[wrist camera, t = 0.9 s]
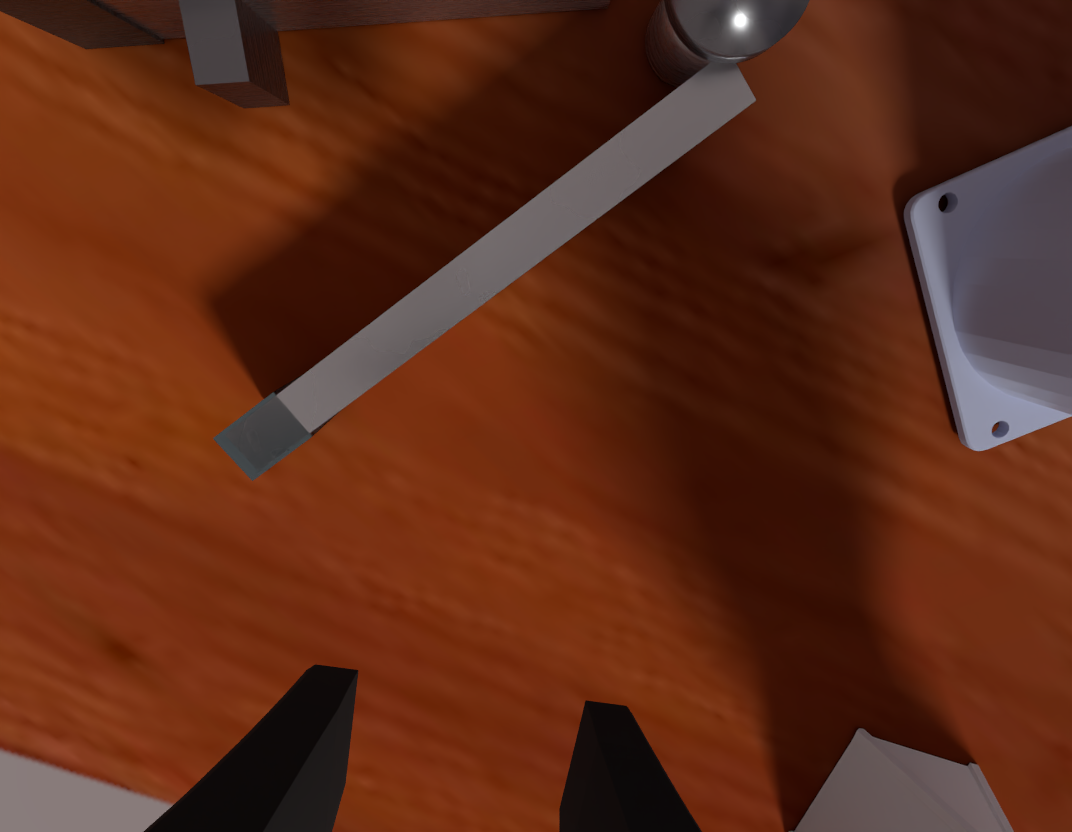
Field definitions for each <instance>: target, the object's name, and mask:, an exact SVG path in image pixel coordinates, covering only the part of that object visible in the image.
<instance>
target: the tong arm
mask: <svg viewBox="0 0 1072 832" xmlns="http://www.w3.org/2000/svg"><path fill="white" fill-rule="evenodd" d="M645 48H646V54H647V58H648V61H649V64H650V65H651V67H652V69H653V71H654V72H655V74H656V75H657V76H658V77H659V78H660V79H661V80H663V81H664V82H666V83H667V84H669V85H671V86H674V87H678V88H677V89H675V90H674V91H673V92H672V93H670V94H669V95H668V96H666V97H665V98H664V99H662V100H661V101H660V102H658V103H657V104H656V105H655V106H653V107H652V108H651V109H649V110H648V111H647V112H645V113H644V114H643V115H642V116H640V117H639V118H638V119H636V120H635V121H634V122H632V123H631V124H630V125H628V126H627V127H626V128H625V129H623V130H622V131H621V132H619V133H618V134H617V135H615V136H614V137H613V138H611V139H610V140H609V141H608V142H606V143H605V144H604V145H602V146H601V147H600V148H598V149H597V150H596V151H595V152H593V153H592V154H591V155H589V156H588V157H587V158H585V159H584V160H583V161H581V162H580V163H579V164H578V165H576V166H575V167H574V168H572V169H571V170H570V171H568V172H567V173H566V174H565V175H563V176H562V177H561V178H559V179H558V180H557V181H555V182H554V183H553V184H551V185H550V186H549V187H548V188H546V189H545V190H544V191H542V192H541V193H540V194H538V195H537V196H536V197H534V198H533V199H532V200H531V201H529V202H528V203H527V204H525V205H524V206H523V207H521V208H520V209H519V210H518V211H516V212H515V213H514V214H512V215H511V216H510V217H508V218H507V219H506V220H504V221H503V222H502V223H501V224H499V225H498V226H497V227H495V228H494V229H493V230H491V231H490V232H489V233H487V234H486V235H485V236H484V237H482V238H481V239H480V240H478V241H477V242H476V243H474V244H473V245H472V246H471V247H469V248H468V249H467V250H465V251H464V252H463V253H461V254H460V255H459V256H457V257H456V258H455V259H454V260H452V261H451V262H450V263H448V264H447V265H446V266H444V267H443V268H442V269H440V270H439V271H438V272H437V273H435V274H434V275H433V276H431V277H430V278H429V279H427V280H426V281H425V282H424V283H422V284H421V285H420V286H418V287H417V288H416V289H414V290H413V291H412V292H410V293H409V294H408V295H407V296H405V297H404V298H403V299H401V300H400V301H399V302H397V303H396V304H395V305H394V306H392V307H391V308H390V309H388V310H387V311H386V312H384V313H383V314H382V315H380V316H379V317H378V318H377V319H375V320H374V321H373V322H371V323H370V324H369V325H367V326H366V327H365V328H363V329H362V330H361V331H360V332H358V333H357V334H356V335H354V336H353V337H352V338H350V339H349V340H348V341H347V342H345V343H344V344H343V345H341V346H340V347H339V348H337V349H336V350H335V351H333V352H332V353H331V354H330V355H328V356H327V357H326V358H324V359H323V360H322V361H320V362H319V363H318V364H316V365H315V366H314V367H313V368H311V369H310V370H309V371H307V372H306V373H305V374H303V375H301V376H300V377H298V378H296V379H295V380H293V381H291V382H289V383H288V384H286V385H284V386H283V387H281V388H279V389H278V390H276V391H274V392H273V393H272V394H270V395H269V396H268V397H266V398H265V399H264V400H262V401H261V402H260V403H259V404H257V405H256V406H255V407H253V408H252V409H251V410H249V411H248V412H247V413H246V414H244V415H243V416H242V417H240V418H239V419H238V420H236V421H235V422H234V423H233V424H231V425H230V426H229V427H227V428H226V429H225V430H223V431H222V432H221V433H219V434H218V435H217V436H216V437H214V438H213V439H214V440H215V441H216V442H217V443H218V444H219V445H220V446H221V448H222V449H223V450H224V451H225V452H226V453H227V454H228V455H229V456H230V457H231V458H232V459H233V460H234V461H235V463H236V464H237V465H238V466H239V467H240V468H241V469H242V470H243V471H244V472H245V473H246V474H247V475H248V477H249V478H250V479H251V480H252V481H253V480H254V479H256V478H257V477H258V476H260V475H261V474H262V473H264V472H265V471H266V470H268V469H269V468H270V467H272V466H273V465H274V464H276V463H277V462H279V461H280V460H281V459H283V458H284V457H285V456H287V455H288V454H289V453H291V452H292V451H293V450H295V449H296V448H297V447H299V446H300V445H301V444H303V443H304V442H305V441H307V440H308V439H309V438H311V437H312V436H313V435H314V434H315V433H317V432H318V431H319V430H320V429H321V428H322V427H323V426H324V425H325V424H326V423H327V422H329V421H330V420H331V419H332V418H333V417H334V416H335V415H336V414H337V413H338V412H339V411H341V410H342V409H343V408H344V407H346V406H347V405H348V404H350V403H351V402H352V401H354V400H355V399H356V398H358V397H359V396H360V395H362V394H363V393H364V392H366V391H367V390H368V389H370V388H371V387H372V386H374V385H375V384H376V383H378V382H379V381H380V380H382V379H383V378H384V377H386V376H387V375H388V374H390V373H391V372H392V371H394V370H395V369H396V368H398V367H399V366H401V365H402V364H403V363H405V362H406V361H407V360H409V359H410V358H411V357H413V356H414V355H415V354H417V353H418V352H419V351H421V350H422V349H423V348H425V347H426V346H427V345H429V344H430V343H431V342H433V341H434V340H435V339H437V338H438V337H439V336H441V335H442V334H443V333H445V332H446V331H447V330H449V329H450V328H452V327H453V326H454V325H456V324H457V323H458V322H460V321H461V320H462V319H464V318H465V317H466V316H468V315H469V314H470V313H472V312H473V311H474V310H476V309H477V308H478V307H480V306H481V305H482V304H484V303H485V302H486V301H488V300H489V299H490V298H492V297H493V296H494V295H496V294H497V293H498V292H500V291H501V290H502V289H504V288H505V287H507V286H508V285H509V284H511V283H512V282H513V281H515V280H516V279H517V278H519V277H520V276H521V275H523V274H524V273H525V272H527V271H528V270H529V269H531V268H532V267H533V266H535V265H536V264H537V263H539V262H540V261H541V260H543V259H544V258H545V257H547V256H548V255H549V254H551V253H552V252H553V251H555V250H556V249H557V248H559V247H560V246H562V245H563V244H564V243H566V242H567V241H568V240H570V239H571V238H572V237H574V236H575V235H576V234H578V233H579V232H580V231H582V230H583V229H584V228H586V227H587V226H588V225H590V224H591V223H592V222H594V221H595V220H596V219H598V218H599V217H600V216H602V215H603V214H604V213H606V212H607V211H608V210H610V209H611V208H612V207H614V206H615V205H617V204H618V203H619V202H621V201H622V200H623V199H625V198H626V197H627V196H629V195H630V194H631V193H633V192H634V191H635V190H637V189H638V188H639V187H641V186H642V185H643V184H645V183H646V182H647V181H649V180H650V179H651V178H653V177H654V176H655V175H657V174H658V173H659V172H661V171H662V170H663V169H665V168H666V167H667V166H669V165H670V164H672V163H673V162H674V161H676V160H677V159H678V158H680V157H681V156H682V155H684V154H685V153H686V152H688V151H689V150H690V149H692V148H693V147H694V146H696V145H697V144H698V143H700V142H701V141H702V140H704V139H705V138H706V137H708V136H709V135H710V134H712V133H713V132H714V131H716V130H717V129H718V128H720V127H721V126H723V125H724V124H725V123H727V122H728V121H729V120H731V119H732V118H733V117H735V116H736V115H737V114H739V113H740V112H741V111H743V110H744V109H745V108H747V107H748V106H749V105H751V104H752V103H753V102H755V101H756V99H755V97H754V95H753V93H752V92H751V90H750V88H749V86H748V84H747V83H746V81H745V79H744V77H743V75H742V74H741V72H740V70H739V68H738V66H737V64H736V63H733V64H722V63H715V62H711V61H708V60H705V59H703V58H701V57H699V56H697V55H696V54H694V53H693V52H691V51H690V50H689V49H688V48H687V47H686V46H685V45H684V44H683V43H682V42H681V41H680V39H679V38H678V37H677V35H676V34H675V32H674V30H673V28H672V26H671V24H670V22H669V19H668V16H667V13H666V8H665V3H664V0H661V1H660V2H659V4H658V6H657V8H656V9H655V11H654V13H653V15H652V17H651V19H650V21H649V24H648V27H647V31H646V37H645Z"/></svg>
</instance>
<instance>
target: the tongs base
mask: <svg viewBox="0 0 1072 832" xmlns="http://www.w3.org/2000/svg"><path fill="white" fill-rule="evenodd" d="M808 2H809V0H664V3H665V8H666V13H667V16H668V19H669V22H670V24H671V26H672V28H673V30H674V32H675V34H676V35H677V37H678V38H679V39H680V41H681V42H682V43H683V44H684V45H685V46H686V47H687V48H688V49H689V50H690V51H691V52H693V53H694V54H696V55H697V56H699V57H701V58H703V59H705V60H708V61H711V62H715V63H722V64H733V63H740V62H743V61H747V60H750V59H752V58H754V57H757V56H758V55H760V54H762V53H763V52H765V51H766V50H768V49H769V48H770V47H771V46H773V45H774V44H775V43H776V42H778V41H779V40H780V39H781V38H783V37H784V36H785V35H786V34H787V33H788V32H789V31H790V30H791V29H792V28H793V27H794V26H795V24H796V23H797V22H798V20H799V19H800V17H801V16H802V14H803V12H804V11H805V9H806V7H807V5H808ZM609 3H610V0H0V11H1V12H3V13H6V14H8V15H10V16H12V17H15V18H17V19H19V20H21V21H24V22H26V23H28V24H30V25H33V26H35V27H37V28H39V29H42V30H44V31H46V32H48V33H51V34H53V35H55V36H58V37H60V38H62V39H64V40H67V41H69V42H71V43H73V44H76V45H78V46H80V47H82V48H85V49H93V48H108V47H122V46H137V45H151V44H164V39H172V38H186V40H187V45H188V50H189V55H190V60H191V65H192V70H193V74H194V79H195V84H196V85H197V86H199V87H201V88H203V89H205V90H207V91H209V92H211V93H213V94H215V95H217V96H219V97H222V98H224V99H226V100H228V101H230V102H232V103H234V104H236V105H238V106H240V107H242V108H255V107H269V106H283V105H290V104H289V98H288V92H287V86H286V80H285V74H284V68H283V62H282V55H281V49H280V43H279V37H278V31H287V30H302V29H316V28H330V27H345V26H359V25H373V24H388V23H402V22H417V21H431V20H445V19H460V18H474V17H488V16H503V15H517V14H531V13H546V12H560V11H575V10H589V9H603V8H608V6H609Z"/></svg>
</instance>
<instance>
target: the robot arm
mask: <svg viewBox="0 0 1072 832" xmlns="http://www.w3.org/2000/svg"><path fill="white" fill-rule="evenodd" d="M943 195H946V197H947V199H948V205H947V207H946V209H945V210H944V211H943V212H941V211H940V209H939V207H938V202H939V200H940V198H941V196H943ZM904 221H905V225H906V229H907V233H908V237H909V241H910V245H911V249H912V253H913V257H914V261H915V265H916V269H917V273H918V276H919V280H920V284H921V288H922V292H923V296H924V300H925V304H926V308H927V312H928V316H929V320H930V324H931V328H932V332H933V336H934V340H935V344H936V348H937V352H938V356H939V360H940V364H941V368H942V372H943V376H944V380H945V384H946V388H947V391H948V395H949V399H950V403H951V407H952V411H953V415H954V419H955V423H956V427H957V431H958V435H959V439H960V441H961V443H962V444H963V445H965V446H966V447H968V448H970V449H972V450H976V451H982V450H987V449H989V448H992V447H994V446H997V445H999V444H1002V443H1004V442H1007V441H1010V440H1012V439H1015V438H1017V437H1020V436H1022V435H1025V434H1027V433H1030V432H1032V431H1035V430H1037V429H1040V428H1043V427H1045V426H1048V425H1050V424H1053V423H1055V422H1058V421H1060V420H1063V419H1065V418H1068V417H1071V416H1072V126H1071V127H1068V128H1066V129H1064V130H1061V131H1059V132H1057V133H1055V134H1052V135H1050V136H1048V137H1045V138H1043V139H1041V140H1039V141H1036V142H1034V143H1032V144H1030V145H1027V146H1025V147H1023V148H1020V149H1018V150H1016V151H1014V152H1011V153H1009V154H1007V155H1005V156H1002V157H1000V158H998V159H995V160H993V161H991V162H989V163H986V164H984V165H982V166H980V167H977V168H975V169H973V170H970V171H968V172H966V173H964V174H961V175H959V176H957V177H954V178H952V179H950V180H948V181H945V182H943V183H941V184H939V185H936V186H934V187H932V188H929V189H927V190H925V191H923V192H920V193H918V194H916V195H915V196H913V197H912V198H911V199H910V200H909V201H908V203H907V204H906V206H905V209H904ZM997 422H999V427H998V428H997V430H996V431H995V432H993V433H991V432H992V427H993V426H994V424H996V423H997ZM357 678H358V670H353V669H345V668H338V667H330V666H323V665H314V666H312V667H311V668H309V669H308V670H306V671H305V673H304V674H303V675H302V676H301V677H300V678H299V679H298V681H297V682H296V683H295V684H294V685H293V686H292V687H291V688H290V689H289V691H288V692H287V693H286V694H285V695H284V696H283V697H282V698H281V699H280V700H279V701H278V702H277V704H276V705H275V706H274V707H273V708H272V709H271V710H270V711H269V712H268V713H267V714H266V715H265V716H264V717H263V718H262V719H261V720H260V721H259V722H258V723H257V724H256V725H255V727H254V728H253V729H252V730H251V731H250V732H249V733H248V734H247V735H246V736H245V737H244V738H243V739H242V740H241V741H240V742H239V743H238V744H237V745H236V746H235V747H234V748H233V749H232V750H231V751H230V752H229V753H228V754H226V755H225V756H224V757H223V758H222V759H221V760H220V761H219V762H218V763H217V764H216V765H215V766H214V767H213V768H212V769H211V770H210V771H209V772H208V773H207V774H206V775H205V776H204V777H203V778H202V779H201V780H200V781H199V782H198V783H197V784H196V785H195V786H194V787H192V788H191V789H190V790H189V791H188V792H187V793H186V794H185V795H184V796H183V797H182V798H181V799H180V800H178V801H177V802H176V803H175V804H174V805H173V806H172V807H171V808H170V809H168V810H167V811H166V812H165V813H164V814H163V815H162V816H161V817H159V818H158V819H157V820H156V821H155V822H154V823H153V824H152V825H150V826H149V827H148V828H147V829H146V830H145V831H144V832H332V829H333V826H334V822H335V819H336V815H337V811H338V808H339V804H340V801H341V797H342V794H343V790H344V787H345V783H346V774H347V765H348V757H349V748H350V739H351V730H352V722H353V713H354V704H355V695H356V686H357ZM560 832H702V831H701V830H700V828H699V826H698V825H697V823H696V822H695V820H694V819H693V817H692V815H691V814H690V812H689V811H688V809H687V807H686V806H685V804H684V802H683V801H682V799H681V797H680V796H679V794H678V792H677V791H676V789H675V787H674V786H673V784H672V782H671V781H670V779H669V777H668V776H667V774H666V772H665V771H664V769H663V767H662V765H661V764H660V762H659V760H658V759H657V757H656V755H655V753H654V752H653V750H652V748H651V746H650V745H649V743H648V741H647V739H646V738H645V736H644V734H643V732H642V730H641V729H640V727H639V725H638V723H637V722H636V720H635V718H634V716H633V715H632V713H631V712H630V710H629V709H628V707H627V706H623V705H615V704H608V703H600V702H593V701H586V702H585V706H584V710H583V714H582V718H581V722H580V726H579V731H578V735H577V739H576V743H575V747H574V751H573V755H572V760H571V764H570V768H569V772H568V776H567V780H566V784H565V789H564V793H563V797H562V801H561V805H560Z"/></svg>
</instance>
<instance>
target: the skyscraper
mask: <svg viewBox="0 0 1072 832" xmlns="http://www.w3.org/2000/svg"><path fill="white" fill-rule="evenodd" d="M789 832H1014V831H1013V829H1012V828H1011V826H1010V824H1009V822H1008V820H1007V818H1006V816H1005V814H1004V813H1003V811H1002V809H1001V807H1000V805H999V803H998V801H997V800H996V798H995V796H994V794H993V792H992V790H991V788H990V786H989V785H988V783H987V781H986V779H985V777H984V775H983V773H982V772H981V770H980V768H979V766H978V765H976V764H973V763H969V765H968V766H965V765H962V764H959V763H956V762H952V761H949V760H946V759H943V758H939V757H936V756H933V755H930V754H927V753H923V752H920V751H917V750H914V749H910V748H907V747H904V746H901V745H897V744H894V743H891V742H888V741H885V740H881V739H878V738H875V737H872V736H871V735H870V734H869V733H868V732H867V731H866V730H864V729H862V728H859V729H858V730H857V731H856V734H855V736H854V738H853V739H852V741H851V743H850V744H849V746H848V747H847V749H846V750H845V752H844V754H843V755H842V757H841V758H840V760H839V761H838V763H837V765H836V766H835V768H834V769H833V771H832V772H831V774H830V776H829V777H828V779H827V780H826V782H825V784H824V785H823V787H822V788H821V790H820V791H819V793H818V795H817V796H816V798H815V799H814V801H813V802H812V804H811V806H810V807H809V809H808V810H807V812H806V813H805V815H804V817H803V818H802V820H801V821H800V823H799V824H798V826H797V828H796V829H795V831H789Z"/></svg>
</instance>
